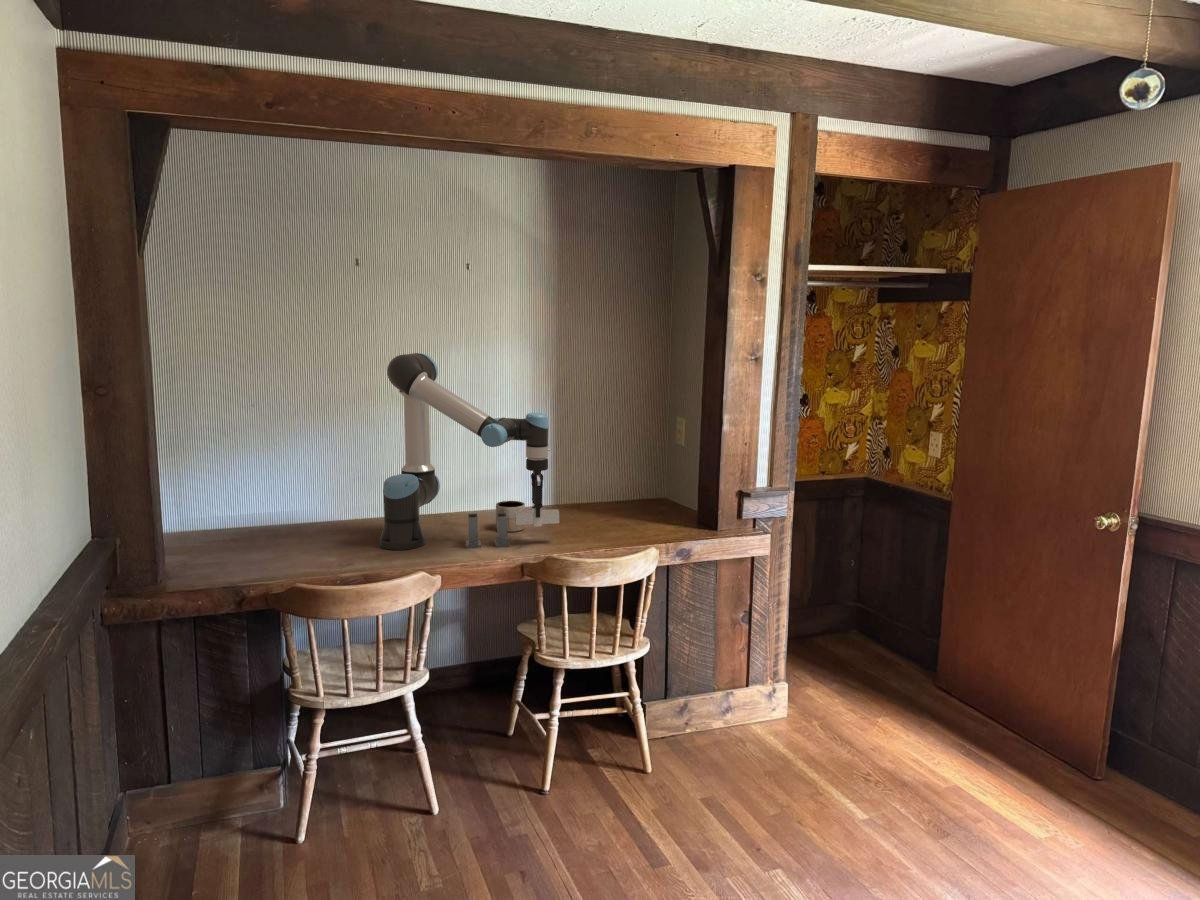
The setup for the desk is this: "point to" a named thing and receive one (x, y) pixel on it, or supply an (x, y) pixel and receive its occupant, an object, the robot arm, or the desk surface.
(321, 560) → the desk surface
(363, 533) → the desk surface
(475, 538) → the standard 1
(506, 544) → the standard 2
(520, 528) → the planter
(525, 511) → the rail
